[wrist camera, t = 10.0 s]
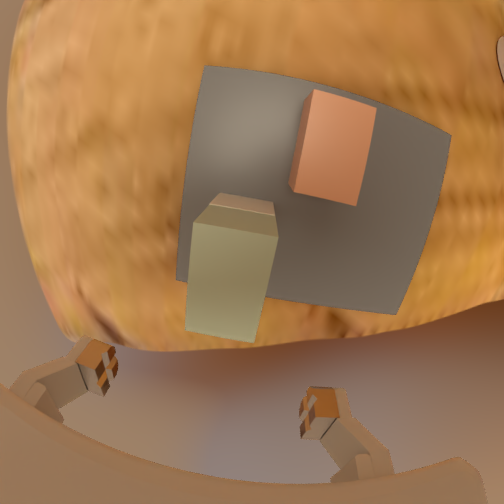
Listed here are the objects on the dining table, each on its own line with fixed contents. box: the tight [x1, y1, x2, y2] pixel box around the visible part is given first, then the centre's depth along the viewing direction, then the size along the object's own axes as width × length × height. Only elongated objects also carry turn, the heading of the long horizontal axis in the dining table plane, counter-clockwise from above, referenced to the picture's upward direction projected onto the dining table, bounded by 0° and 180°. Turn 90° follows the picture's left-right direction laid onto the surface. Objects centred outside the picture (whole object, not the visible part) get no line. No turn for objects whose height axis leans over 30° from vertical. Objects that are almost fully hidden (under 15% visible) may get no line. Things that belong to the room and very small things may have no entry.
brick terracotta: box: [288, 89, 377, 206], centre depth 20 cm, size 5×8×5 cm, turn 170°
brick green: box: [185, 204, 279, 343], centre depth 19 cm, size 5×8×5 cm, turn 170°
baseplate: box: [176, 66, 451, 315], centre depth 23 cm, size 26×22×6 cm
